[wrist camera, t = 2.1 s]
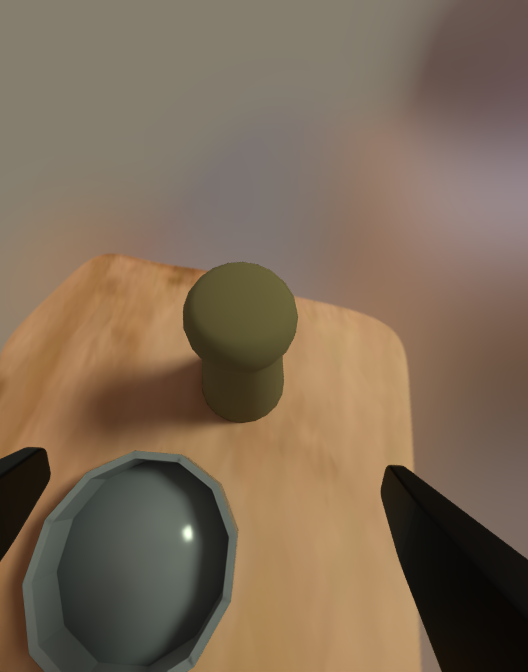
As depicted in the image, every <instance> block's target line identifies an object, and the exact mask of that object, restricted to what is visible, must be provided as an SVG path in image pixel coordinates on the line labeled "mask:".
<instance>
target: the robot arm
mask: <svg viewBox="0 0 528 672" xmlns="http://www.w3.org/2000/svg"><path fill="white" fill-rule="evenodd" d="M50 475H51V472H50V466H49V461H48V456H47V452H46V450H45V449H44V448H41V447H26V448H23V449H21V450H19V451H17V452H14V453H12V454H10V455H8V456H6V457H4V458H1V459H0V561H1V560H2V558H3V557H4V555H5V554H6V552H7V551H8V549H9V548H10V546H11V545H12V543H13V542H14V540H15V539H16V537H17V535H18V534H19V532H20V530H21V529H22V527H23V525H24V523H25V522H26V520H27V518H28V517H29V515H30V513H31V512H32V510H33V508H34V506H35V505H36V503H37V501H38V500H39V498H40V496H41V494H42V493H43V491H44V489H45V488H46V486H47V484H48V482H49V480H50ZM381 499H382V502H383V506H384V509H385V513H386V517H387V520H388V524H389V527H390V531H391V534H392V538H393V541H394V545H395V548H396V552H397V555H398V558H399V561H400V564H401V567H402V570H403V573H404V575H405V578H406V580H407V583H408V586H409V588H410V591H411V593H412V596H413V599H414V601H415V604H416V606H417V609H418V611H419V614H420V617H421V619H422V622H423V624H424V627H425V629H426V632H427V635H428V637H429V640H430V643H431V645H432V648H433V650H434V653H435V656H436V658H437V661H438V663H439V666H440V668H441V671H442V672H528V560H527V559H526V558H525V557H524V556H522V555H521V554H520V553H518V552H517V551H516V550H514V549H513V548H512V547H510V546H509V545H508V544H506V543H505V542H504V541H502V540H501V539H500V538H499V537H497V536H496V535H495V534H493V533H492V532H491V531H489V530H488V529H486V528H485V527H484V526H483V525H481V524H480V523H478V522H477V521H476V520H475V519H473V518H472V517H470V516H469V515H468V514H467V513H465V512H464V511H463V510H461V509H460V508H459V507H458V506H456V505H455V504H454V503H452V502H451V501H450V500H448V499H447V498H446V497H444V496H443V495H442V494H440V493H439V492H438V491H436V490H435V489H434V488H432V487H431V486H430V485H428V484H427V483H426V482H424V481H423V480H422V479H420V478H419V477H418V476H416V475H415V474H414V473H412V472H411V471H410V470H409V469H407V468H406V467H404V466H401V465H388V466H387V467H386V469H385V473H384V477H383V481H382V486H381Z"/></svg>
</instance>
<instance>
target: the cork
mask: <svg viewBox="0 0 528 672" xmlns="http://www.w3.org/2000/svg"><path fill="white" fill-rule="evenodd" d="M297 320H298V314H297V309H296V305H295V300H294V296H293V294H292V293H291V291H290V290H289V288H288V286H287V285H286V283H285V282H284V281H283V280H282V279H280V278H279V277H278V276H277V275H276V274H275V273H273V272H272V271H271V270H269V269H266V268H264V267H262V266H259V265H257V264H252V263H245V262H237V263H227V264H224V265H221V266H218V267H215V268H213V269H211V270H210V271H208V272H207V273H206V274H204V275H203V276H201V277H200V278H199V280H198V281H197V282H196V283H195V284H194V286H193V287H192V288H191V290H190V291H189V292H188V295H187V298H186V301H185V304H184V308H183V328H184V331H185V333H186V336H187V338H188V340H189V343H190V345H191V347H192V349H193V350H194V351H195V353H196V354H197V355H198V356H199V357H200V358H201V359H202V385H203V394H204V396H205V399H206V401H207V403H208V405H209V406H210V407H211V408H212V409H213V410H214V412H215V413H216V414H218V415H220V416H221V417H223V418H225V419H227V420H229V421H235V422H240V423H243V422H250V421H256V420H258V419H260V418H262V417H264V416H266V415H267V414H268V413H269V412H270V411H271V410H272V409H273V408H275V407H276V405H277V403H278V401H279V399H280V397H281V396H282V392H283V385H284V375H283V356H282V355H284V354H285V353H286V351H287V350H288V348H289V346H290V344H291V342H292V340H293V338H294V336H295V333H296V327H297Z"/></svg>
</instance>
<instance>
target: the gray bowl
mask: <svg viewBox="0 0 528 672" xmlns="http://www.w3.org/2000/svg"><path fill="white" fill-rule="evenodd" d="M237 538H238V527H237V524H236V522H235V519H234V516H233V514H232V511H231V508H230V506H229V503H228V500H227V498H226V495H225V492H224V489H223V487H222V484H221V483H219V482H218V481H217V480H216V479H214V478H213V477H212V476H211V475H209V474H208V473H207V472H206V471H204V470H203V469H202V468H201V467H199V466H198V465H197V464H196V463H194V462H193V461H192V460H191V459H189V458H188V457H185V456H183V455H179V454H168V453H156V452H145V451H133V452H131V453H129V454H127V455H124V456H122V457H120V458H118V459H116V460H113V461H111V462H109V463H107V464H105V465H102V466H100V467H98V468H96V469H94V470H91V471H89V472H87V473H86V474H85V475H84V476H83V477H82V479H81V480H80V481H79V482H78V483H77V484H76V485H75V486H74V488H73V489H72V490H71V491H70V492H69V493H68V494H67V495H66V497H65V498H64V499H63V500H62V501H61V502H60V503H59V505H58V506H57V507H56V508H55V509H54V510H53V511H52V512H51V514H50V515H49V516H48V517H47V518H46V519H45V522H44V524H43V527H42V530H41V533H40V536H39V539H38V541H37V544H36V547H35V550H34V553H33V556H32V558H31V561H30V564H29V567H28V570H27V573H26V575H25V578H24V581H23V584H22V589H23V599H24V609H25V619H26V629H27V639H28V649H29V655H30V656H31V657H32V658H33V659H34V660H35V662H36V663H37V664H38V665H39V666H40V667H41V669H42V670H43V671H44V672H187V671H189V670H190V669H192V668H193V667H194V666H195V664H196V662H197V661H198V659H199V657H200V655H201V654H202V652H203V650H204V648H205V646H206V645H207V643H208V641H209V639H210V638H211V636H212V634H213V632H214V630H215V629H216V627H217V625H218V623H219V622H220V620H221V618H222V616H223V614H224V613H225V611H226V609H227V607H228V606H229V604H230V602H231V596H232V589H233V578H234V568H235V558H236V548H237Z"/></svg>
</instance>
